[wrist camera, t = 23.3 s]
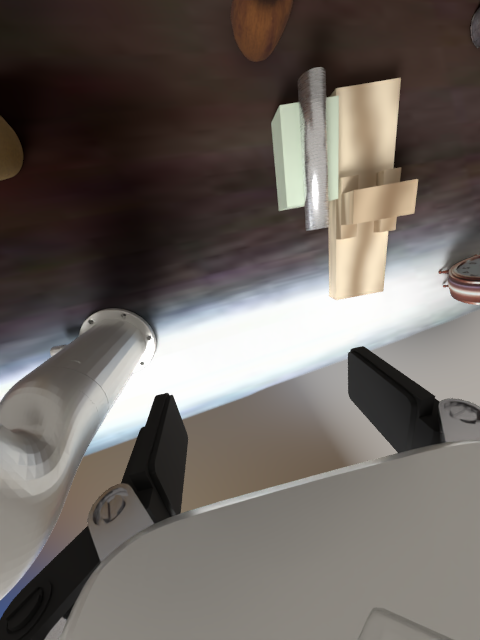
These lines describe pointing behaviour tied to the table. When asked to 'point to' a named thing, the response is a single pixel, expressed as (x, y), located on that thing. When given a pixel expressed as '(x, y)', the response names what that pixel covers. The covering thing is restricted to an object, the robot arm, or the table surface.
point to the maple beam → (366, 188)
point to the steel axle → (314, 146)
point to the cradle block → (291, 153)
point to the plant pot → (9, 151)
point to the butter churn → (476, 29)
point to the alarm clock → (465, 280)
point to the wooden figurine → (259, 25)
